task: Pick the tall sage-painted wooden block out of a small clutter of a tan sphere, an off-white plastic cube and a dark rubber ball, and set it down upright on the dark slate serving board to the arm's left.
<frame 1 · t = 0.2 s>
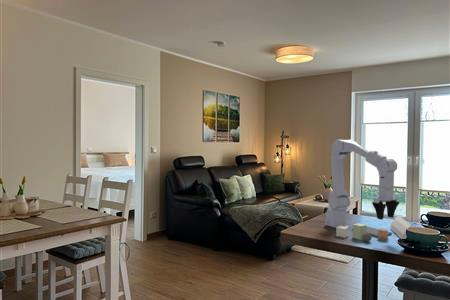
hand: (385, 218, 141), 10 cm above the table, fingers open, 7 cm apart
sage block: (359, 238, 144), on the table
crystal: (404, 236, 150), on the table
slate board: (371, 232, 154), on the table
off-white cube: (342, 236, 147), on the table
tan sphere: (382, 239, 143), on the table
rubber ball: (366, 241, 139), on the table
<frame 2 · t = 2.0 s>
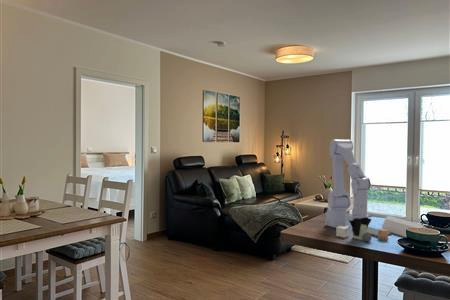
hand: (359, 234, 144), 1 cm above the table, fingers closed on sage block, 4 cm apart
sage block: (359, 238, 144), on the table, touching gripper
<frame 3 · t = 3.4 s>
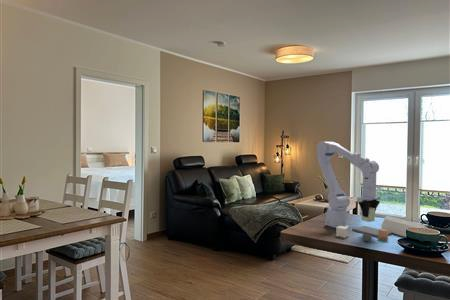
hand: (368, 216, 151), 8 cm above the table, fingers closed on sage block, 4 cm apart
sage block: (367, 220, 151), point 6 cm above the table, touching gripper
when the fingers open (4 cm above the table, at t = 4.9 s): sage block stays where it is, resting on slate board.
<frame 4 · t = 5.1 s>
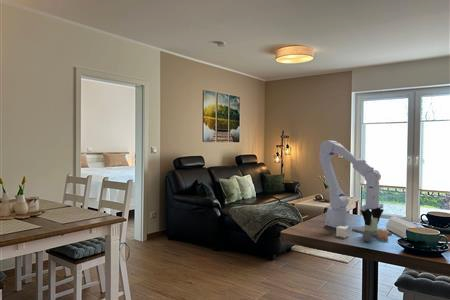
hand: (371, 224, 154), 4 cm above the table, fingers open, 6 cm apart
sage block: (370, 230, 154), point 1 cm above the table, touching slate board
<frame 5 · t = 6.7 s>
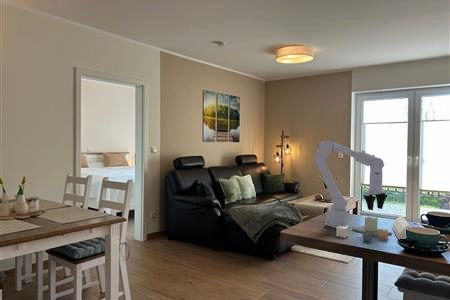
hand: (375, 209, 160), 10 cm above the table, fingers open, 7 cm apart
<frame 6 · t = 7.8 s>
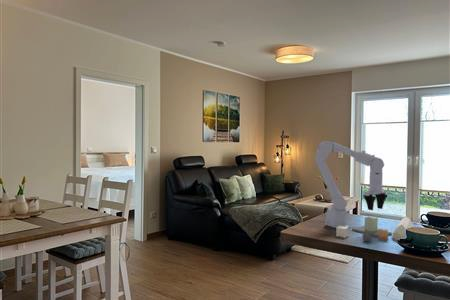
hand: (375, 209, 160), 10 cm above the table, fingers open, 7 cm apart
at the end: sage block inside the target area on the slate board (0.3 cm from its centre), point 1.0 cm above the slate board's base; sage block tilted 0°; the gripper is holding nothing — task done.
